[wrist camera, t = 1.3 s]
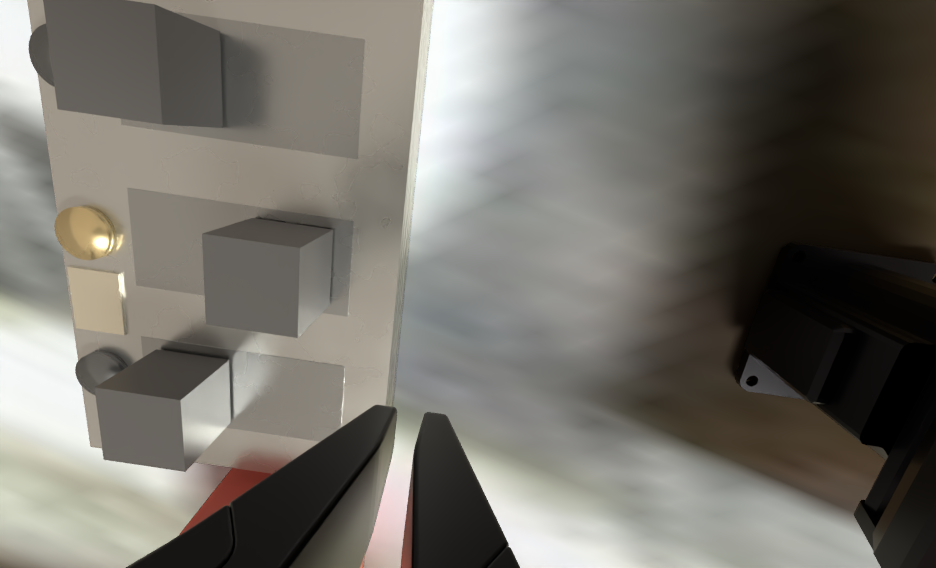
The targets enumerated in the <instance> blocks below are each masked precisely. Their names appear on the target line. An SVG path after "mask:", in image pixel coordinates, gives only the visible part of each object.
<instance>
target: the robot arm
mask: <svg viewBox="0 0 936 568" xmlns="http://www.w3.org/2000/svg"><path fill="white" fill-rule="evenodd" d="M797 251H799V256H798V257H797V259H795V260H794V261H793V260H792V256H793V254H794V253H795V252H797ZM935 273H936V263H934V262H927V261H921V260H914V259H907V258H900V257H893V256H886V255H880V254H873V253H866V252H859V251H852V250H845V249H839V248H832V247H825V246H818V245H811V244H804V243H798V242H794V243H790V244H787V245H786V246H784V247H783V248H782V250H781V252H780V254H779V256H778V259H777V262H776V265H775V267H774V270H773V273H772V276H771V279H770V281H769V284H768V287H767V290H766V292H765V293H764V294H763V296H762V298H761V301H760V304H759V307H758V309H757V312H756V315H755V318H754V321H753V323H752V326H751V329H750V332H749V334H748V337H747V340H746V343H745V350H744V353H743V356H742V359H741V362H740V364H739V367H738V370H737V373H736V376H735V380H736V382H737V383H738V384H739V385H740V386H741V387H742V388H743V389H744V390H746V391H750V392H757V393H763V394H770V395H777V396H784V397H791V398H797V399H804V400H807V401H808V402H810V403H812V404H814V405H815V406H816V407H817V408H819V409H820V410H821V411H822V412H824V413H825V414H826V415H827V416H829V417H830V418H831V419H832V420H833V421H835V422H836V423H837V424H838V425H840V426H841V427H842V428H843V429H845V430H846V431H847V432H848V433H850V434H851V435H852V436H853V437H855V438H856V439H857V440H858V441H859V442H861V443H862V444H865V445H867V446H868V447H870V448H871V449H872V450H873V451H875V452H876V453H877V454H878V455H880V456H881V457H882V458H883V459H885V460H886V461H885V463H884V465H883V467H882V469H881V471H880V473H879V475H878V477H877V479H876V481H875V483H874V485H873V487H872V489H871V491H870V493H869V495H868V497H867V498H866V500H861V501H860V503H859V505H858V507H857V509H856V511H855V513H854V516H855V518H856V520H857V522H858V524H859V525H860V527H861V529H862V531H863V533H864V534H865V536H866V538H867V540H868V542H869V543H870V545H871V547H872V549H873V551H874V555H875V557H876V559H877V561H878V563H879V564H880V566H881V568H936V277H935V278H934V279H932V277H933V276H934V274H935ZM750 376H753V378H752V379H751V380H750V381H747V382H746V380H747V378H748V377H750ZM396 420H397V410H396V408H395V407H390V406H384V405H374V406H372V407H371V408H369V409H368V410H366V411H365V412H363V413H362V414H360V415H359V416H357V417H356V418H354V419H353V420H352V421H350V422H349V423H347V424H346V425H344V426H343V427H341V428H340V429H338V430H337V431H335V432H334V433H332V434H331V435H329V436H328V437H326V438H325V439H323V440H322V441H320V442H319V443H317V444H316V445H314V446H313V447H311V448H310V449H308V450H307V451H305V452H304V453H302V454H301V455H299V456H298V457H297V458H295V459H294V460H292V461H291V462H289V463H288V464H286V465H285V466H283V467H282V468H280V469H279V470H277V471H276V472H274V473H273V474H271V475H270V476H268V477H267V478H265V479H264V480H262V481H261V482H259V483H258V484H256V485H255V486H253V487H252V488H250V489H249V490H247V491H246V492H245V493H243V494H242V495H240V496H239V497H237V498H236V499H234V500H233V501H231V502H230V504H229V506H228V505H225V506H223V507H222V508H220V509H219V510H217V511H216V512H214V513H213V514H211V515H210V516H208V517H207V518H206V519H204V520H202V521H201V522H199V523H198V524H196V525H195V526H193V527H192V528H190V529H188V530H187V531H185V532H184V533H182V534H181V535H179V536H178V537H176V538H174V539H173V540H171V541H170V542H168V543H167V544H165V545H163V546H162V547H160V548H158V549H156V550H155V551H153V552H151V553H150V554H148V555H146V556H145V557H143V558H141V559H139V560H138V561H136V562H134V563H133V564H131V565H129V566H128V567H126V568H360V566H361V564H362V561H363V558H364V556H365V553H366V550H367V548H368V545H369V542H370V539H371V536H372V533H373V529H374V526H375V522H376V518H377V514H378V510H379V506H380V502H381V498H382V494H383V490H384V486H385V482H386V478H387V474H388V470H389V466H390V462H391V458H392V453H393V448H394V439H395V429H396ZM508 546H509V545H508V542H507V540H506V538H505V536H504V534H503V531H502V529H501V527H500V525H499V523H498V521H497V519H496V517H495V515H494V513H493V511H492V509H491V506H490V504H489V502H488V500H487V498H486V496H485V494H484V492H483V490H482V488H481V486H480V484H479V481H478V479H477V477H476V475H475V473H474V471H473V469H472V467H471V465H470V463H469V461H468V459H467V456H466V454H465V452H464V450H463V448H462V446H461V444H460V442H459V440H458V438H457V436H456V434H455V431H454V429H453V427H452V425H451V423H450V421H449V419H448V417H447V416H446V415H444V414H438V413H431V412H427V413H425V414H424V417H423V421H422V424H421V428H420V431H419V434H418V438H417V441H416V445H415V449H414V456H413V464H412V472H411V480H410V489H409V497H408V505H407V514H406V522H405V530H404V539H403V548H402V559H401V568H520V567H519V564H518V562H517V560H516V558H515V556H514V554H513V552H512V550H511V548H510V547H508Z"/></svg>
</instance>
